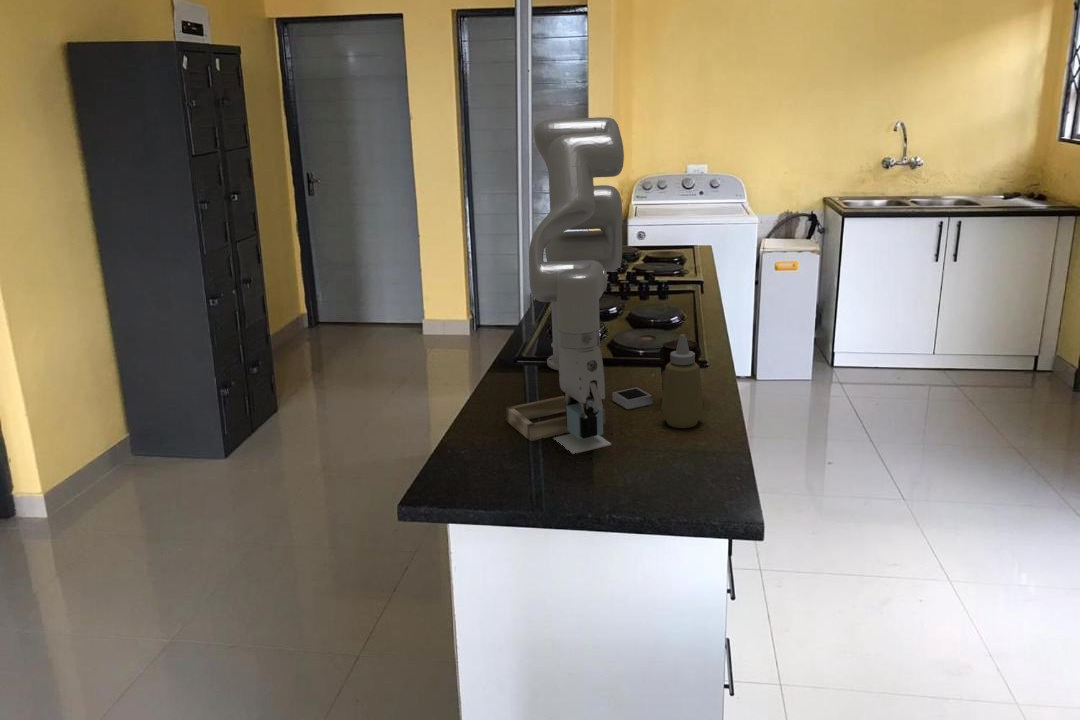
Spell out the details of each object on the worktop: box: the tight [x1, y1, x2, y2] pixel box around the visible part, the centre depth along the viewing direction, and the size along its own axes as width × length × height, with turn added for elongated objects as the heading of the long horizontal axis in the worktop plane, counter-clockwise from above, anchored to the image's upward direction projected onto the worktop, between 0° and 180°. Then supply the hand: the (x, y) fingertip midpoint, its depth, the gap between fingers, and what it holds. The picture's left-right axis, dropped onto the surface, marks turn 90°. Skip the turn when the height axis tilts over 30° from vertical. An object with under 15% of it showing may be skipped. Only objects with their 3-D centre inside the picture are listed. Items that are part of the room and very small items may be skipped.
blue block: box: [566, 403, 604, 440], centre depth 161 cm, size 5×5×5 cm
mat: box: [553, 433, 612, 455], centre depth 162 cm, size 8×8×1 cm
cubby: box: [505, 395, 606, 442], centre depth 171 cm, size 11×16×3 cm
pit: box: [612, 386, 653, 411], centre depth 180 cm, size 6×6×2 cm
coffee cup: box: [658, 339, 702, 391], centre depth 177 cm, size 9×8×13 cm
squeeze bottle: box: [661, 333, 704, 429], centre depth 166 cm, size 8×8×18 cm
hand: (581, 430), depth 162 cm, fingers closed on blue block, 4 cm apart
